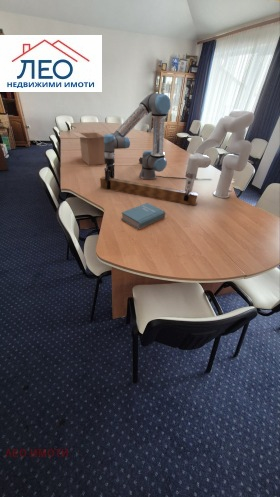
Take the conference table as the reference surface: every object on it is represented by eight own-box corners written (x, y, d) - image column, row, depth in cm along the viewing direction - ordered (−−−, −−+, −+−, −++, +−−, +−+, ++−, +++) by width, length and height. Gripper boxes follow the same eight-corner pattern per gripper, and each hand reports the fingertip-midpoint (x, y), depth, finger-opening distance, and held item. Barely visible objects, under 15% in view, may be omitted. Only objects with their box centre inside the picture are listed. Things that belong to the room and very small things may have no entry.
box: (116, 165, 229) (116, 136, 213) (83, 168, 214) (80, 137, 198) (102, 154, 259) (101, 128, 243) (71, 156, 244) (68, 129, 228)
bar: (100, 187, 178) (100, 178, 174) (103, 185, 182) (103, 176, 178) (194, 205, 162) (197, 195, 157) (195, 203, 166) (198, 193, 161)
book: (146, 209, 152) (147, 202, 149) (164, 218, 143) (165, 211, 140) (121, 219, 138) (121, 212, 135) (139, 230, 130) (139, 222, 127)
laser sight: (158, 166, 235) (159, 156, 229) (137, 164, 238) (138, 154, 232) (159, 164, 243) (160, 154, 237) (139, 161, 245) (140, 152, 239)
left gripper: (109, 161, 157) (109, 192, 171) (118, 155, 171) (118, 184, 185) (99, 159, 158) (100, 190, 172) (109, 154, 172) (110, 183, 186)
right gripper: (195, 179, 146) (189, 204, 156) (197, 172, 159) (192, 196, 170) (183, 177, 147) (179, 202, 158) (187, 170, 160) (183, 194, 171)
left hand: (110, 187), depth 178 cm, fingers closed on bar, 5 cm apart
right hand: (186, 199), depth 164 cm, fingers closed on bar, 5 cm apart
